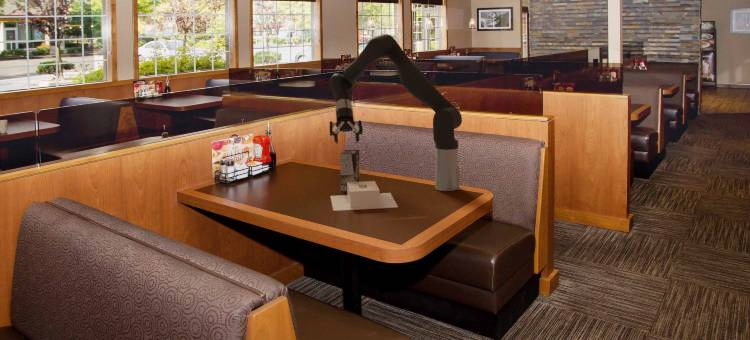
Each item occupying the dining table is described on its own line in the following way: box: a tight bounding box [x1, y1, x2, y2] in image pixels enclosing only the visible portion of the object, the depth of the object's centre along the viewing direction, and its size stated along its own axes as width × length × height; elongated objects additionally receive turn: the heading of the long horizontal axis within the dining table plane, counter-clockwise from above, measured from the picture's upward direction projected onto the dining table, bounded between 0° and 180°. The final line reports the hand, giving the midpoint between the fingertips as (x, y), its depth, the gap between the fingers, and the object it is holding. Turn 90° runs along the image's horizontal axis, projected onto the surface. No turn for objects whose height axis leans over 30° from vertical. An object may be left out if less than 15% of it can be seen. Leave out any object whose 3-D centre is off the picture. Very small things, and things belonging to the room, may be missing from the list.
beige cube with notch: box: [346, 180, 380, 207], centre depth 234 cm, size 11×14×6 cm
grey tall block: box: [339, 149, 361, 192], centre depth 252 cm, size 9×6×16 cm
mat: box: [329, 192, 399, 212], centre depth 235 cm, size 24×20×1 cm
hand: (347, 142), depth 262 cm, fingers open, 8 cm apart
